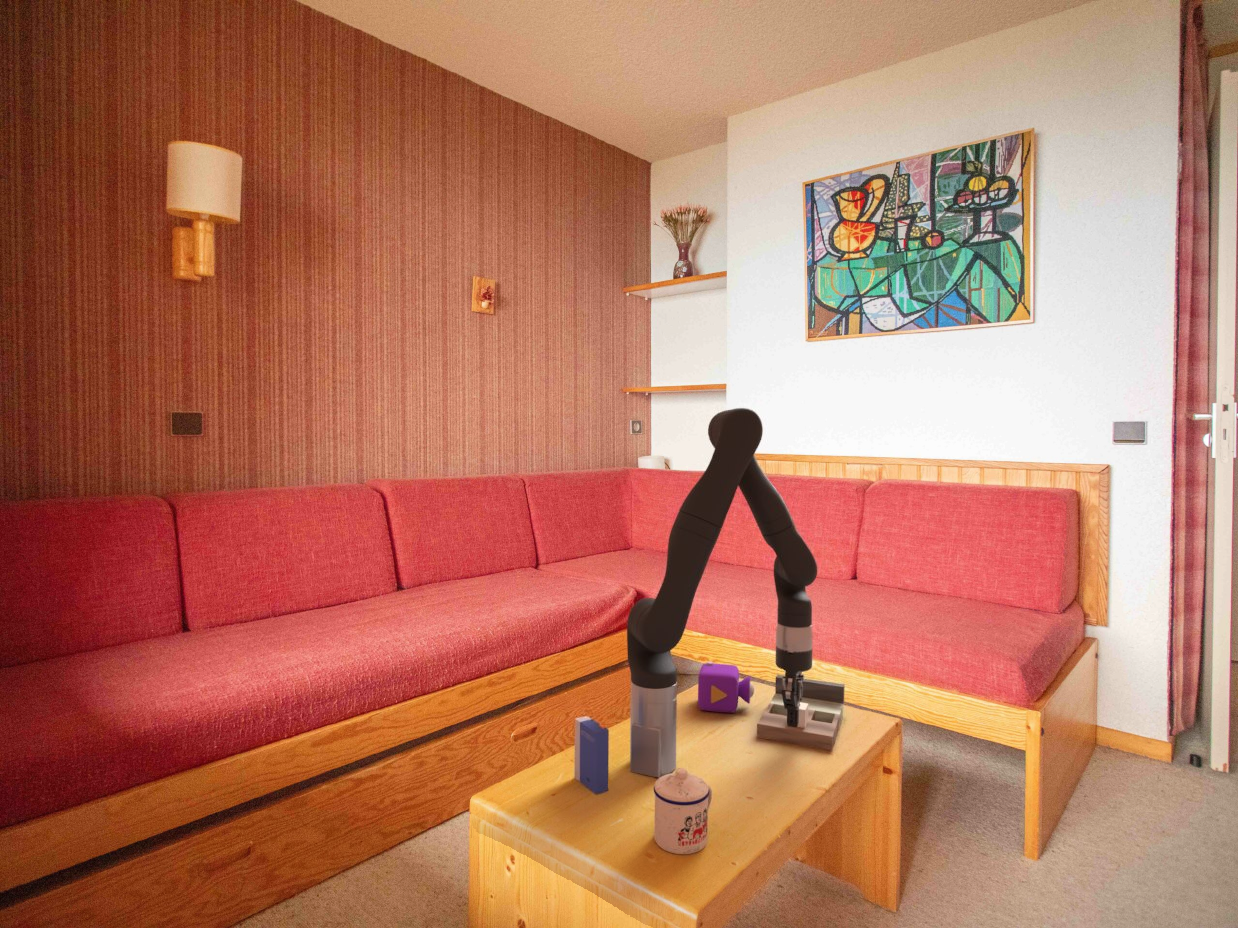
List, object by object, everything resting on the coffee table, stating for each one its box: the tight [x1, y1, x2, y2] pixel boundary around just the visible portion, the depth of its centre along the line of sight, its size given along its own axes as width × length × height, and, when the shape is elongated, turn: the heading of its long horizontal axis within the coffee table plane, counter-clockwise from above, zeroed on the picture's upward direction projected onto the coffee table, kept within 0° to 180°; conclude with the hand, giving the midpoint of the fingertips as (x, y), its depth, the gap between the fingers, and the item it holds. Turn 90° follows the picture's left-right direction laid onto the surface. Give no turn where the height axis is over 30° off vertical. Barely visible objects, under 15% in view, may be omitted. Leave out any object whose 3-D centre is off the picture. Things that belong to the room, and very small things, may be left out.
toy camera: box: [697, 660, 755, 714], centre depth 172 cm, size 11×14×10 cm
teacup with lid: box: [653, 767, 713, 855], centre depth 116 cm, size 12×9×12 cm
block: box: [786, 702, 808, 728], centre depth 155 cm, size 4×4×4 cm
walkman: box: [574, 715, 610, 796], centre depth 134 cm, size 8×3×12 cm, turn 34°
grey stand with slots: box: [756, 674, 845, 752], centre depth 162 cm, size 22×16×7 cm
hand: (792, 725), depth 149 cm, fingers closed
